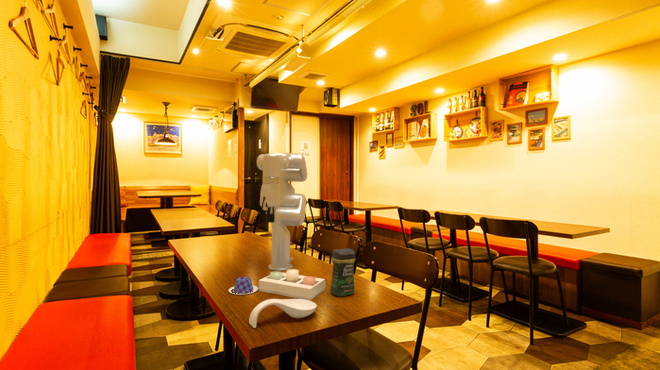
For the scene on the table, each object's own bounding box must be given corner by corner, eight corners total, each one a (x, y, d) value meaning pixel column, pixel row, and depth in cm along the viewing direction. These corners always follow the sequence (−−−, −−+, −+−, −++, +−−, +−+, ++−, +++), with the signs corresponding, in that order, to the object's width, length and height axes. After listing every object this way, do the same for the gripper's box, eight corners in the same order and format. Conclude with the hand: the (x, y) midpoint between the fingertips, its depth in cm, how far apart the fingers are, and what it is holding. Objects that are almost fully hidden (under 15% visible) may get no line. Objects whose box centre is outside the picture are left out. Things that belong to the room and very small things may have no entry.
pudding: (232, 286, 147) (232, 274, 147) (260, 286, 147) (260, 274, 147) (225, 296, 135) (225, 283, 135) (255, 296, 135) (255, 283, 135)
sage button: (274, 281, 149) (274, 270, 149) (284, 283, 147) (284, 272, 147) (267, 285, 144) (267, 273, 144) (277, 287, 142) (278, 275, 142)
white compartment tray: (276, 281, 153) (277, 271, 153) (324, 289, 144) (325, 279, 144) (258, 290, 141) (258, 280, 140) (310, 300, 131) (310, 289, 131)
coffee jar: (337, 298, 134) (338, 252, 133) (327, 292, 141) (328, 248, 140) (357, 294, 138) (358, 249, 138) (347, 288, 145) (348, 246, 145)
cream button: (290, 280, 146) (290, 268, 145) (300, 281, 143) (300, 270, 143) (283, 283, 141) (283, 271, 141) (294, 285, 139) (294, 273, 139)
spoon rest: (305, 305, 126) (305, 286, 126) (323, 317, 117) (323, 296, 116) (244, 320, 113) (244, 299, 112) (258, 334, 103) (258, 311, 103)
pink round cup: (306, 287, 142) (306, 275, 142) (317, 289, 140) (317, 277, 140) (300, 291, 138) (300, 279, 137) (312, 293, 136) (312, 280, 135)
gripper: (273, 181, 159) (272, 219, 160) (254, 181, 146) (253, 223, 146) (287, 181, 157) (286, 220, 157) (268, 181, 143) (268, 225, 143)
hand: (270, 222), depth 152 cm, fingers closed
